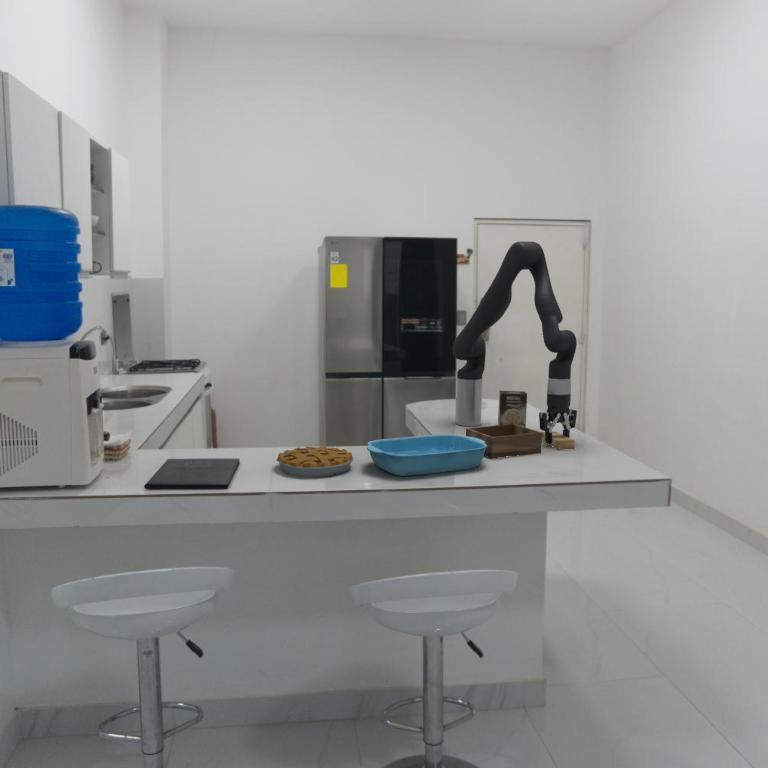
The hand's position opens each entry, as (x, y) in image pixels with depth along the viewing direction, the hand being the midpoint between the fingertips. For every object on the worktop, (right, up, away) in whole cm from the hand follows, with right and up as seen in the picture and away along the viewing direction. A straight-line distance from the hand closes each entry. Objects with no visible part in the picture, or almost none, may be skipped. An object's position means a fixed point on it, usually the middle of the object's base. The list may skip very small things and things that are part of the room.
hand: (557, 442), depth 243 cm
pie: (-77, -6, -30) cm, 82 cm away
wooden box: (-19, -2, -8) cm, 21 cm away
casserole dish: (-44, -5, -27) cm, 52 cm away
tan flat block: (0, -1, 0) cm, 1 cm away
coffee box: (-13, 0, +9) cm, 16 cm away
